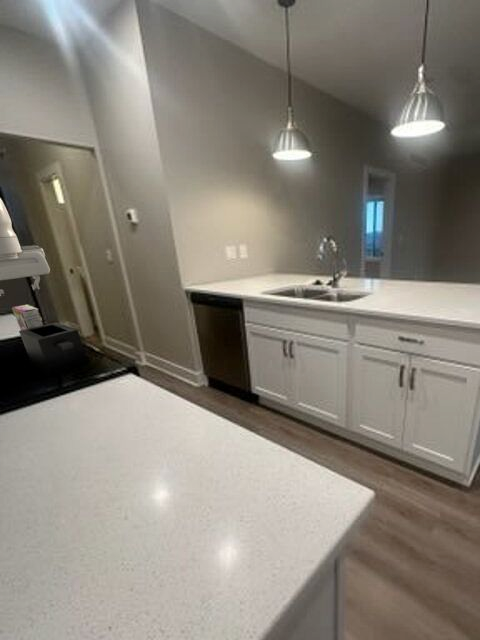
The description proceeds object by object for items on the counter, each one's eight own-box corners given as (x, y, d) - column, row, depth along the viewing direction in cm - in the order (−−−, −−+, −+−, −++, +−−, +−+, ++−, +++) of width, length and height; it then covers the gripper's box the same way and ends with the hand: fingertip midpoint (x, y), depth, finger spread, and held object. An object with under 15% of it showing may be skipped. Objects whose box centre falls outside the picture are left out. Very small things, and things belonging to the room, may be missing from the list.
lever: (62, 350, 98) (61, 346, 98) (57, 347, 101) (55, 344, 100) (73, 347, 101) (72, 343, 100) (68, 344, 103) (66, 341, 103)
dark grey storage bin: (50, 375, 101) (37, 339, 97) (31, 363, 111) (18, 330, 107) (88, 363, 109) (77, 329, 104) (66, 353, 119) (56, 322, 114)
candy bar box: (28, 353, 121) (10, 307, 114) (44, 348, 124) (28, 304, 118) (38, 359, 114) (20, 311, 108) (55, 354, 118) (38, 307, 111)
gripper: (38, 244, 115) (52, 286, 120) (-43, 251, 100) (-23, 298, 106) (44, 244, 111) (59, 287, 117) (-38, 251, 97) (-18, 300, 102)
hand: (19, 292), depth 111 cm, fingers open, 8 cm apart
